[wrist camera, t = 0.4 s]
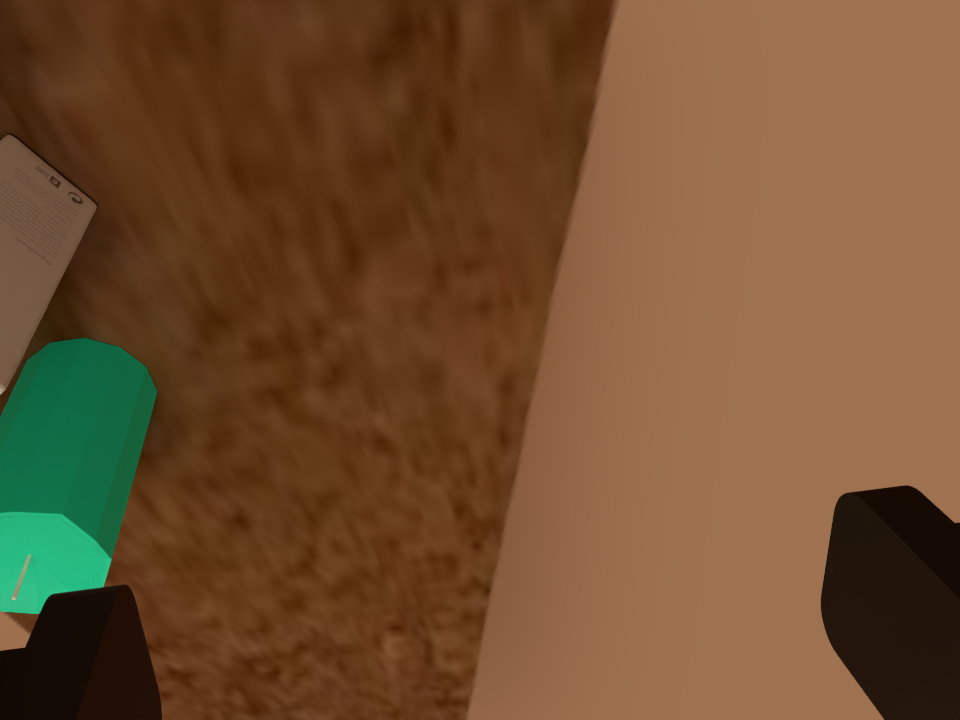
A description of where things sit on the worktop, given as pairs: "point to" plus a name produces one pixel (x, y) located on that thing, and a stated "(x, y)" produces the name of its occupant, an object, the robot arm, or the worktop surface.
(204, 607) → the worktop surface
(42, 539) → the candle
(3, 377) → the skincare box
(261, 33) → the worktop surface
